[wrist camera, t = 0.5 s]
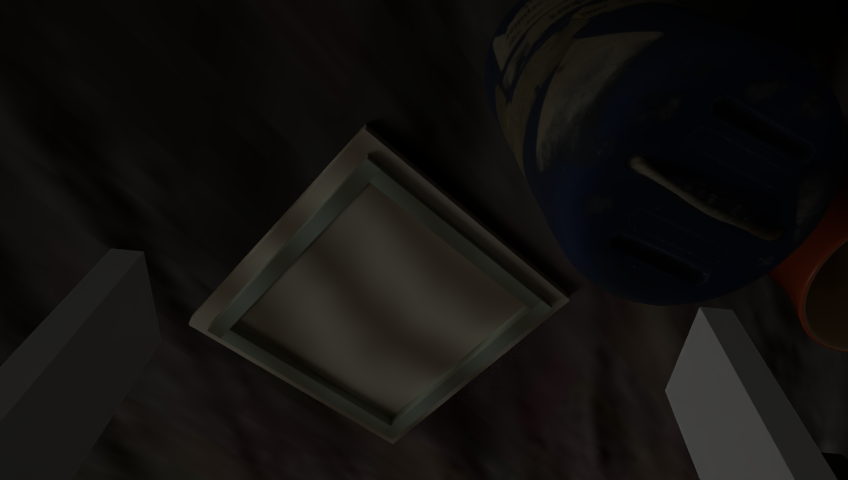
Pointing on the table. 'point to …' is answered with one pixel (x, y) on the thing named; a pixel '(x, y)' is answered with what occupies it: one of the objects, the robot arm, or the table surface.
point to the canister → (664, 142)
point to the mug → (822, 275)
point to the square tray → (378, 292)
